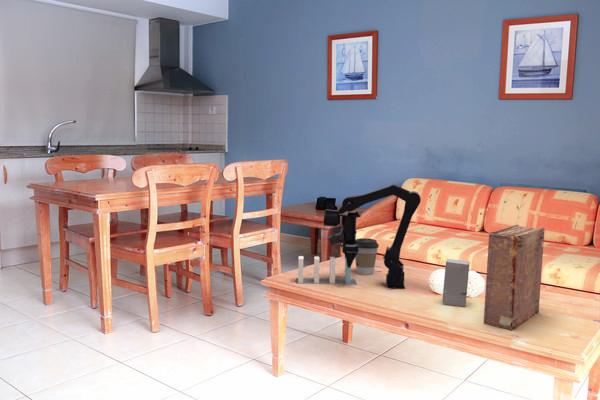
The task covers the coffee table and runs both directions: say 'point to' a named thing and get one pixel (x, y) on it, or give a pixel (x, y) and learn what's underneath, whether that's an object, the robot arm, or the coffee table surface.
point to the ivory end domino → (300, 269)
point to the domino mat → (325, 281)
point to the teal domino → (347, 273)
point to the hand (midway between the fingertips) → (347, 264)
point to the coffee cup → (366, 255)
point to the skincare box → (455, 282)
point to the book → (513, 276)
